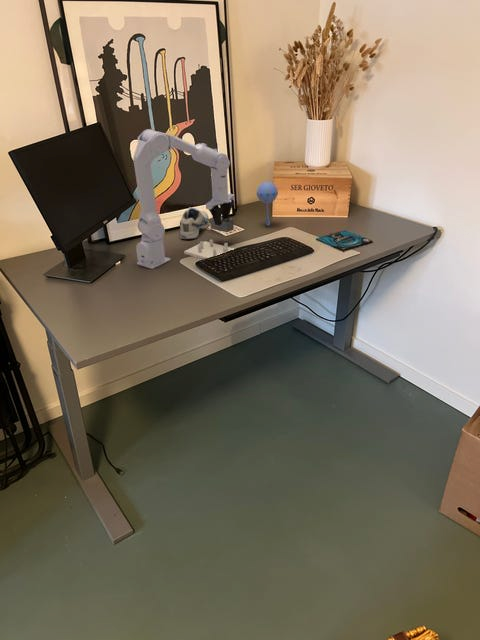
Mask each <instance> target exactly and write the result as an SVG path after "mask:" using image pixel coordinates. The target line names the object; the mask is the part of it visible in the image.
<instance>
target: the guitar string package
mask: <svg viewBox="0 0 480 640" xmlns="http://www.w3.org/2000/svg"><path fill="white" fill-rule="evenodd" d="M315 240H316V242H320V243H322V244H324V245H326V246H328V247H331V248H333V249H336V250H338V251H340V252H341V253H342V252H343V253H344V252H348V251H349V250H350V251H351V250H354V249H356V248H360V247H363V246H366V245H369V244H372V243H373V242H374V240H372V239H369V238H368V237H364V236H362V235H359V234H356V233H354V232H351V231H349V230H347V229H344V230H341V231H336V232H334V233H330V234H326V235H322V236H320V237H316V238H315ZM373 244H374V243H373Z"/></svg>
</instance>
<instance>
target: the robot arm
mask: <svg viewBox="0 0 480 640" xmlns="http://www.w3.org/2000/svg"><path fill="white" fill-rule="evenodd" d="M135 147H136V148H135V151H134V154H133V158H132V159H133V166H134V172H135V179H136V187H137V192H138V200H139V206H140V212H139V213H138V220H137V221H138V222H137V229H138V231H139V233H141V241H140V242H139V243H137V244H136V246H135V247H136V248H135V250H136V258H137V262H136V264H137V265H138V266H142V267H145V268H148V269H151V270H154V269H155V268H157V267H159V266H161V265H163V264H166V263H168V262H169V261H171V258H170V257H166V252H165V246H164V238H163V237H164V236H165V233H166V231H165V229H166V228H165V226H164V224H162V219H161V217H160V214H159V213H158V210H157V203H156V195H155V194H156V193H155V188H154V178H153V171H152V170H153V169H152V163H153V162H154V161H155V159H156V158H158V157H160V156H161V155H164V154H165V153H166V152H167V151H168V150H169V151H171V150H173V149H177V150H179V151H182V152H185V153H186V154H190V155H191V157H192V160H194V161H195V162H198V163H201V164H203V165H205V166H208V167H209V168H210V175H211V176H210V178H211V190H212V191H211V192H212V193H211V194H212V195H211V196H212V198H211V199H210V200H209V201H208V202H206V203H205V209H206V210H208V211H209V212H210V214H211V216H212V217H213V219H214V222H215V225H219V226H220V225H221V217H226V218H230V213H231V211H232V209H233V206H234V202H233V201H235V194H234V193H233V194H232V193H229V189H228V187H229V186H228V171H229V167H230V164H231V160H229V157H228V156H227V154H225V153H222V152H219V151H218V149H217V148H211V147H208V144H207V143H203V142H202V143H197V144H195V145H194V144H192V143H190V142H188V141H186V140H184V139H182V138H180V137H178V136H176V135H173V134H169V133H165V132H161V131H158V130H157V131H156V130H154V129H151V128H149V129H148V128H147V129H145V130H143V131H142V132H141V134H139V136H137V145H136V146H135Z"/></svg>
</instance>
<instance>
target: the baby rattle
mask: <svg viewBox="0 0 480 640" xmlns="http://www.w3.org/2000/svg"><path fill="white" fill-rule="evenodd" d="M278 195H279V189H278V188H277V186H276V185H275V184H274V183H273V182H270V181H264V182H262V183H260V184H259V186H258V187H257V189H256V197H257V198H258V200H259V201H260V202H262V203H264V204H266V218H265V225H266V226H267V227H270V226H271V221H270V217H269V204H271V203H273V202H274V201H275V200H276V198H278Z"/></svg>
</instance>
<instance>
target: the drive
mask: <svg viewBox="0 0 480 640" xmlns="http://www.w3.org/2000/svg"><path fill="white" fill-rule="evenodd" d="M209 227H210V229H211V230H215V231H220V232H223V233H230V232H231V231H233V230H235V228H234V218H230V217H229V218H226V217H222V216H221V225H220V226H219V225H215V222H214V219H213V216H212V217H209Z"/></svg>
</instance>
